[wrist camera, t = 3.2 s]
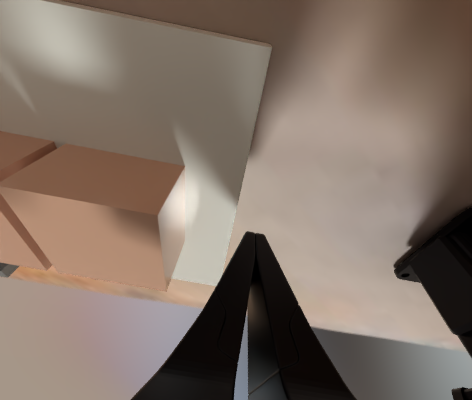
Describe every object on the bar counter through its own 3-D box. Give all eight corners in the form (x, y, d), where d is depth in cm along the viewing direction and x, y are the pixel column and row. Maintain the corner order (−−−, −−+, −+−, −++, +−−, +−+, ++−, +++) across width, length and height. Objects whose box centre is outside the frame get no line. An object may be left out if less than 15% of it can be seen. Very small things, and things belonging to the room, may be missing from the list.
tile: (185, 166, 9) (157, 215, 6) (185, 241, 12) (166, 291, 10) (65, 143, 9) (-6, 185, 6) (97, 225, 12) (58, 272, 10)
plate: (269, 44, 8) (272, 47, 6) (223, 262, 16) (219, 286, 15) (-129, -39, 7) (-236, -57, 6) (44, 230, 16) (21, 251, 15)
